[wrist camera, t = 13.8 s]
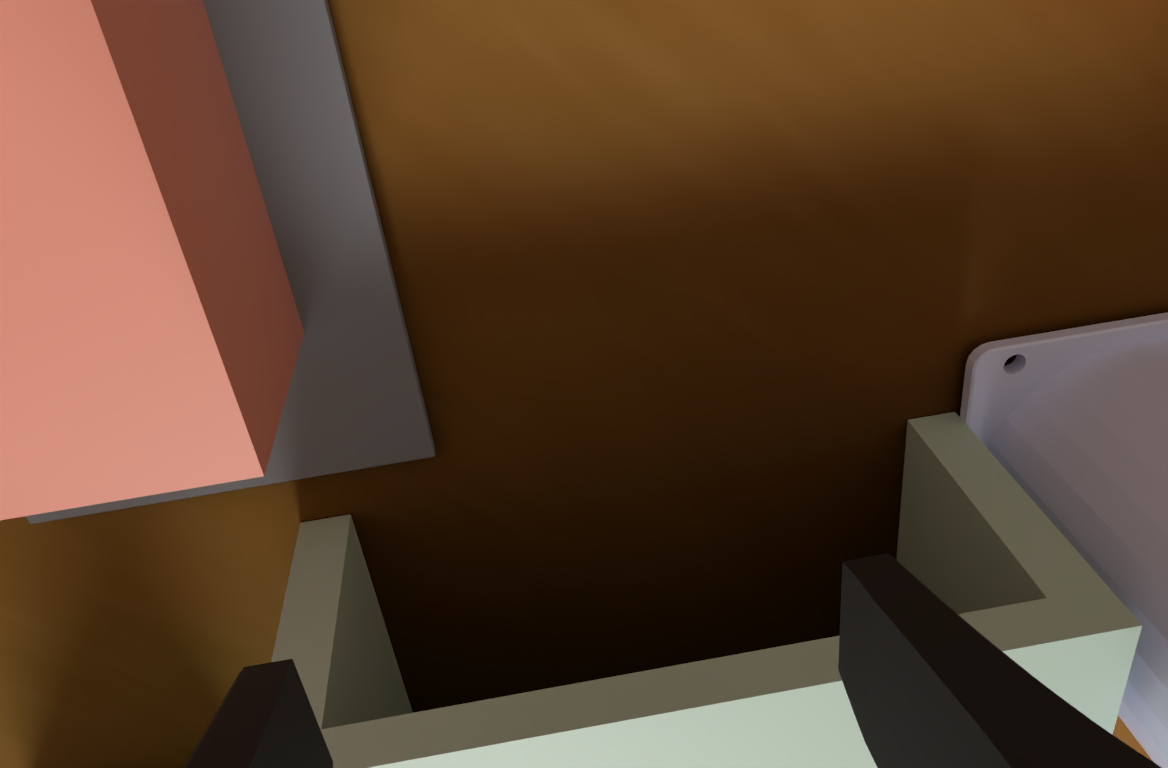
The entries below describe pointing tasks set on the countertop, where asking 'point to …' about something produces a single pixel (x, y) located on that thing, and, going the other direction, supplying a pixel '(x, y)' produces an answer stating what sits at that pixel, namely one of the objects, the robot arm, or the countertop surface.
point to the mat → (316, 252)
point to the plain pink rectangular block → (130, 261)
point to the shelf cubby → (731, 683)
